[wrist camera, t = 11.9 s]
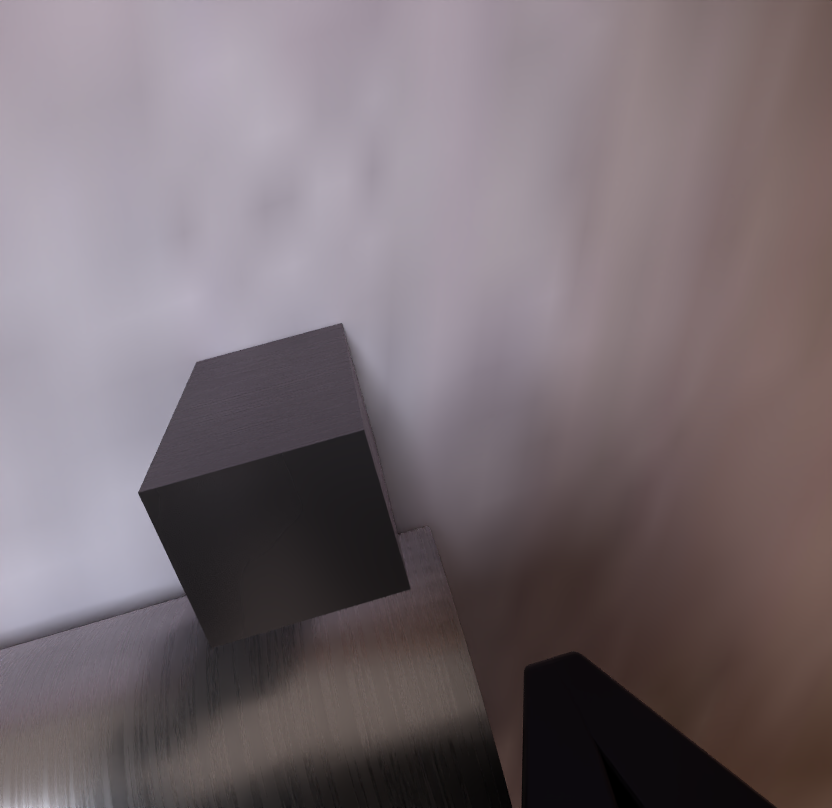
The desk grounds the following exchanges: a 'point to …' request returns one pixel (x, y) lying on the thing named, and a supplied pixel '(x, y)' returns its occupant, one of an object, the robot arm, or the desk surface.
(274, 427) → the collar stand
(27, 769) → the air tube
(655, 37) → the desk surface
